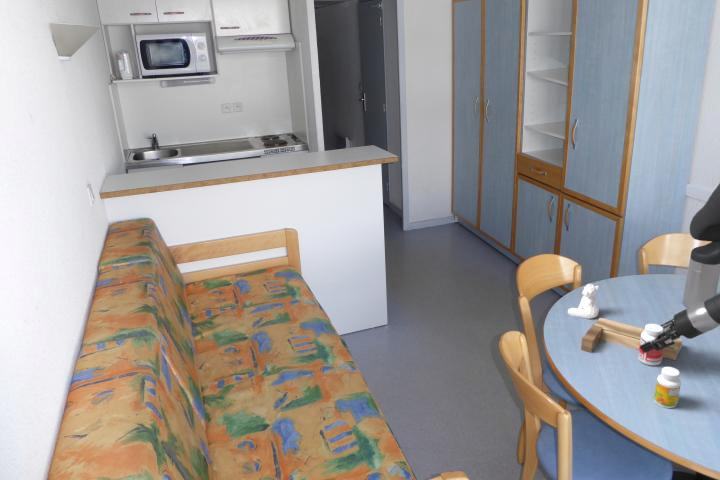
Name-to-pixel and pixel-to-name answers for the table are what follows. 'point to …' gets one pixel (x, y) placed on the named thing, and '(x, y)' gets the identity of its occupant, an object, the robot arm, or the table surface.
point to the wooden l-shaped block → (621, 337)
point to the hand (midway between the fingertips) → (645, 344)
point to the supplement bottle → (667, 388)
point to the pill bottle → (652, 355)
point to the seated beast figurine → (586, 304)
